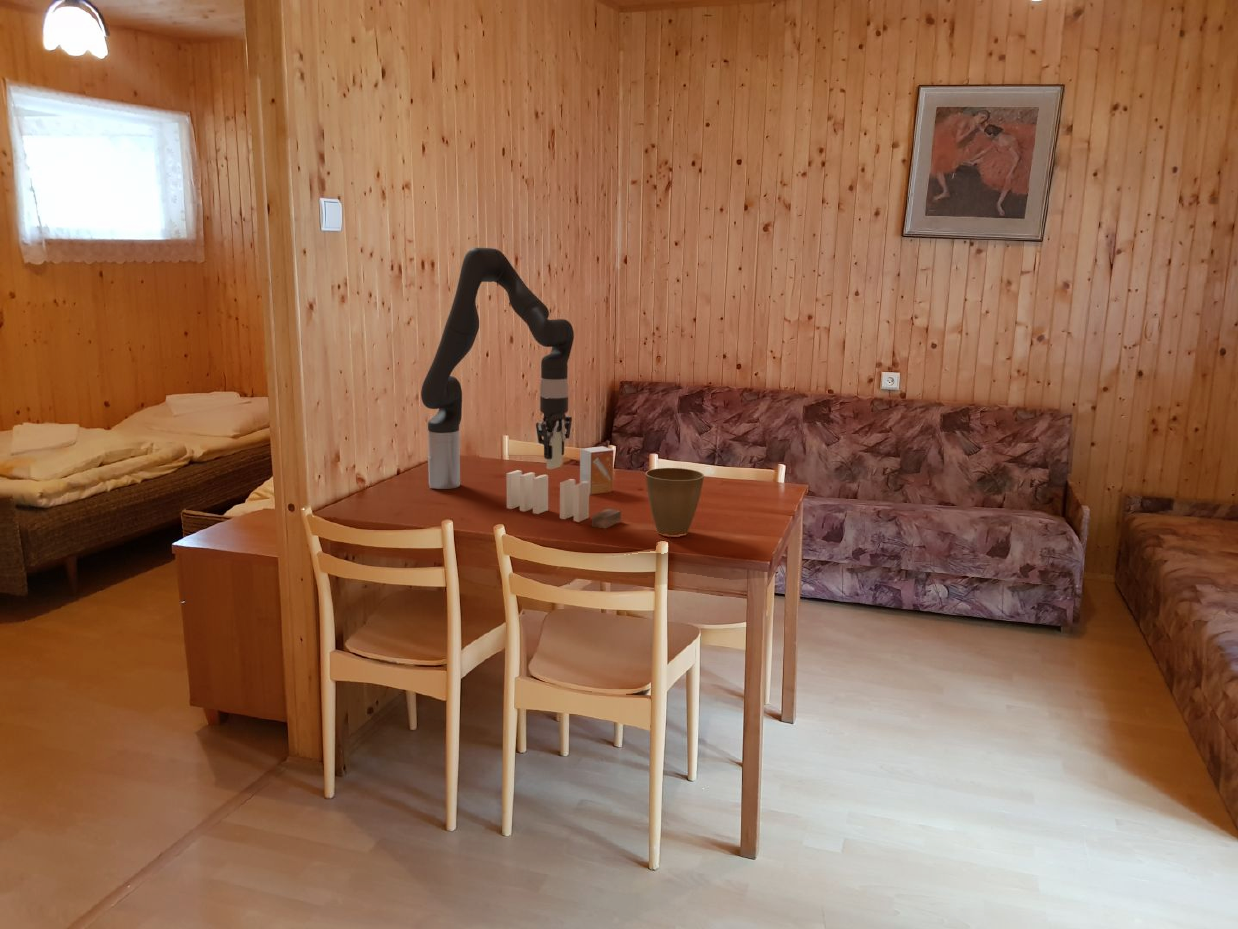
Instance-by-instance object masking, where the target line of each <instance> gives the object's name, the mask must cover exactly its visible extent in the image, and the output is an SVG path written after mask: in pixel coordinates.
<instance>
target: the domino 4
mask: <svg viewBox="0 0 1238 929" xmlns="http://www.w3.org/2000/svg"><path fill="white" fill-rule="evenodd" d="M547 433H549V434H551V433H552V432H547ZM548 441H549V436H548ZM551 446H552V459H546V469H547V470H553V469H557V468H559V467H562V466H563V455H562V437H561V431H560V432H556V435H555V437H554V438H553V442H552V445H551Z"/></svg>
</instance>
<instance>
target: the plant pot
mask: <svg viewBox="0 0 1238 929" xmlns="http://www.w3.org/2000/svg"><path fill="white" fill-rule="evenodd" d="M704 478H705V474H704V473H703V472H700V471H698V470H694V469H688V468H681V467H680V468H679V467H661V468H660V467H659V468H653V469H649V470H647V471H646V472H645V480H646V482H645V483H646V488H647V489H646V490H647V497H648V501H649V505H650V510H651V515H652V518H653V522H654V524H655V528H656V531H657V533H658V532H659V533H661V534H668V535H679V534H685V533H687V534H688V533H689V530H690V527H691V525H692V524H693V523H692V522H693V520H694V517H695V515H696V511H697V509H698V504H699V501H700V497H701V492H702V489H703V484H704V480H705V479H704Z"/></svg>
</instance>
